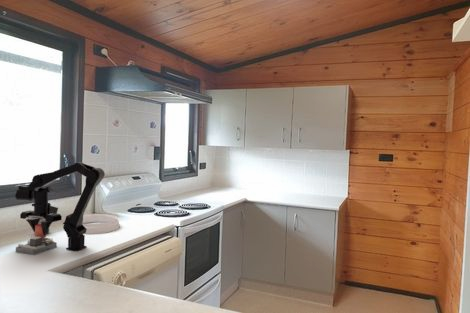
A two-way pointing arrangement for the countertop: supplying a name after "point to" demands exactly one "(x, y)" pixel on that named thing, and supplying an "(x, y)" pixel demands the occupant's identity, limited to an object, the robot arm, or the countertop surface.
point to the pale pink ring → (101, 227)
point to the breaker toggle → (35, 241)
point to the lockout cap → (39, 231)
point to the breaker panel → (46, 245)
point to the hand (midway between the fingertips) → (40, 234)
